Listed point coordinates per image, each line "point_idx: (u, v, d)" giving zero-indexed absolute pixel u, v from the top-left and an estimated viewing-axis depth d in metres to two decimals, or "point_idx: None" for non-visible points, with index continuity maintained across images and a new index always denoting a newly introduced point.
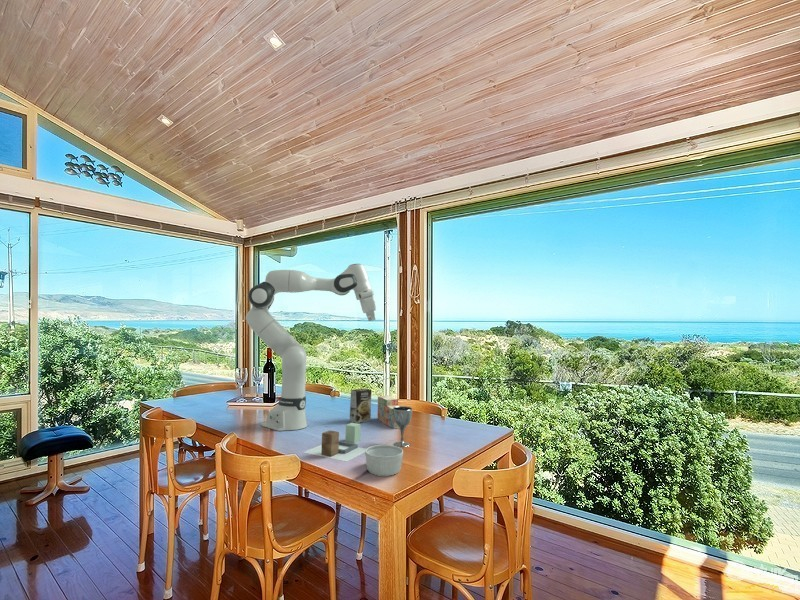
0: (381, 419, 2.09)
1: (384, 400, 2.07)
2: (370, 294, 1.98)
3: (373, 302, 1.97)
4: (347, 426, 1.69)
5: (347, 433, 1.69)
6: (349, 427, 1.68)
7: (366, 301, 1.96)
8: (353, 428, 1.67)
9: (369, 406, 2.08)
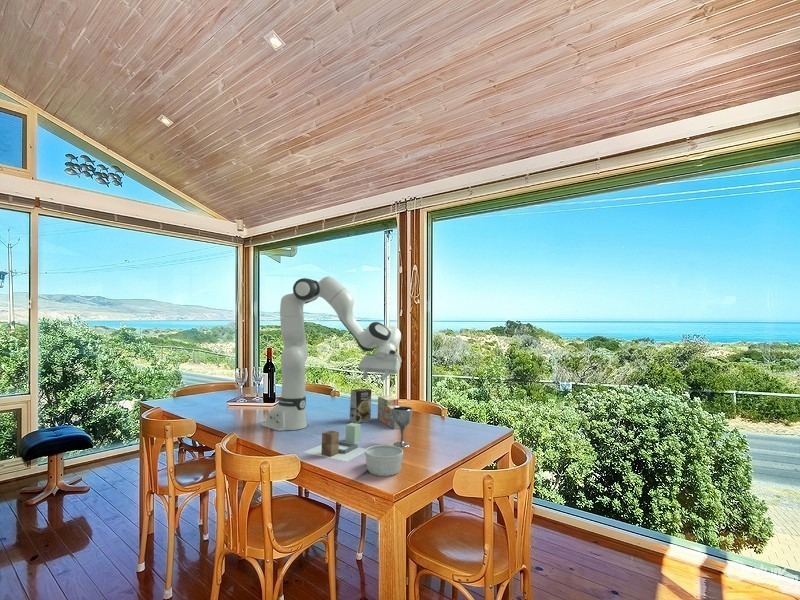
0: (381, 419, 2.09)
1: (384, 400, 2.06)
2: (400, 360, 1.90)
3: (399, 367, 1.87)
4: (347, 426, 1.69)
5: (347, 433, 1.69)
6: (349, 427, 1.68)
7: (398, 360, 1.86)
8: (353, 428, 1.67)
9: (369, 406, 2.08)
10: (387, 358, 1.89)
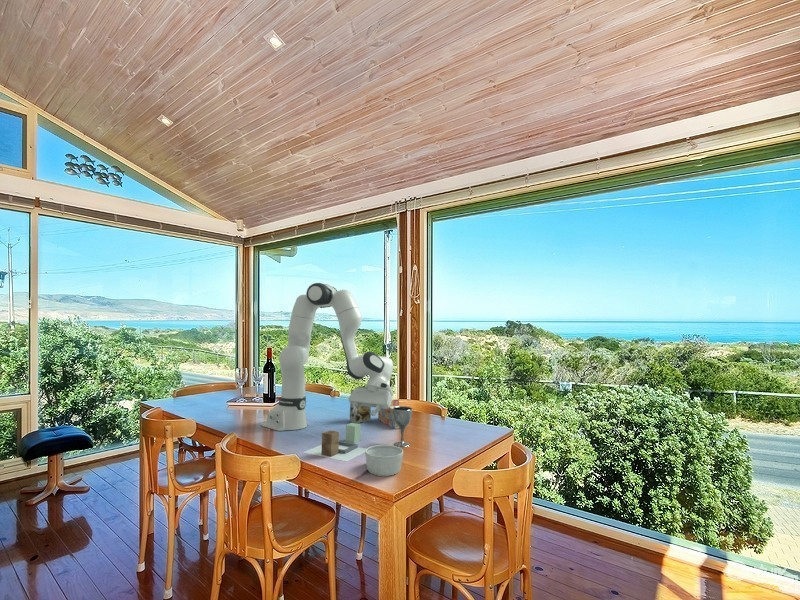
0: (382, 419, 2.08)
1: None
2: (392, 393, 1.83)
3: (391, 401, 1.79)
4: (347, 426, 1.69)
5: (347, 433, 1.69)
6: (349, 427, 1.68)
7: (389, 394, 1.79)
8: (353, 428, 1.67)
9: None
10: (378, 391, 1.81)
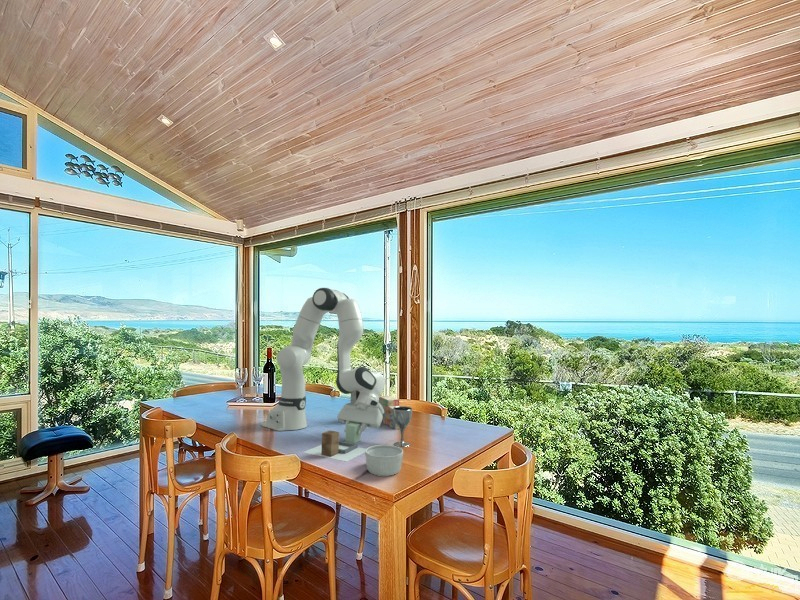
0: (382, 419, 2.08)
1: (385, 400, 2.06)
2: (382, 411, 1.75)
3: (381, 420, 1.72)
4: (347, 426, 1.69)
5: (347, 433, 1.69)
6: (349, 427, 1.68)
7: (379, 413, 1.71)
8: (353, 428, 1.67)
9: None
10: (368, 409, 1.73)
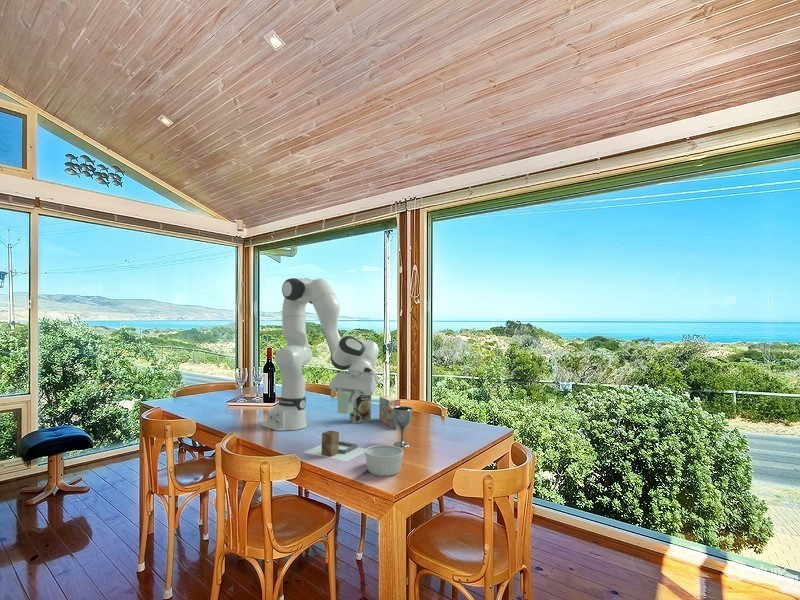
0: (383, 420, 2.08)
1: (386, 400, 2.05)
2: (376, 379, 1.67)
3: (375, 387, 1.64)
4: (339, 393, 1.61)
5: (339, 401, 1.60)
6: (341, 394, 1.60)
7: (373, 379, 1.63)
8: (346, 395, 1.59)
9: (369, 406, 2.08)
10: (361, 377, 1.65)
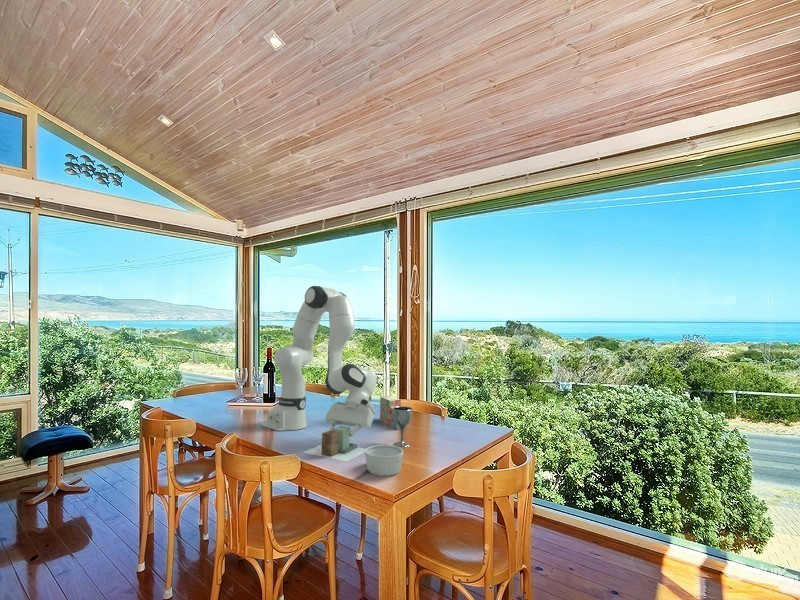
0: (384, 420, 2.07)
1: (387, 401, 2.05)
2: (373, 411, 1.64)
3: (372, 420, 1.61)
4: (335, 430, 1.58)
5: None
6: (337, 431, 1.58)
7: (370, 412, 1.60)
8: (341, 432, 1.57)
9: None
10: (358, 409, 1.63)
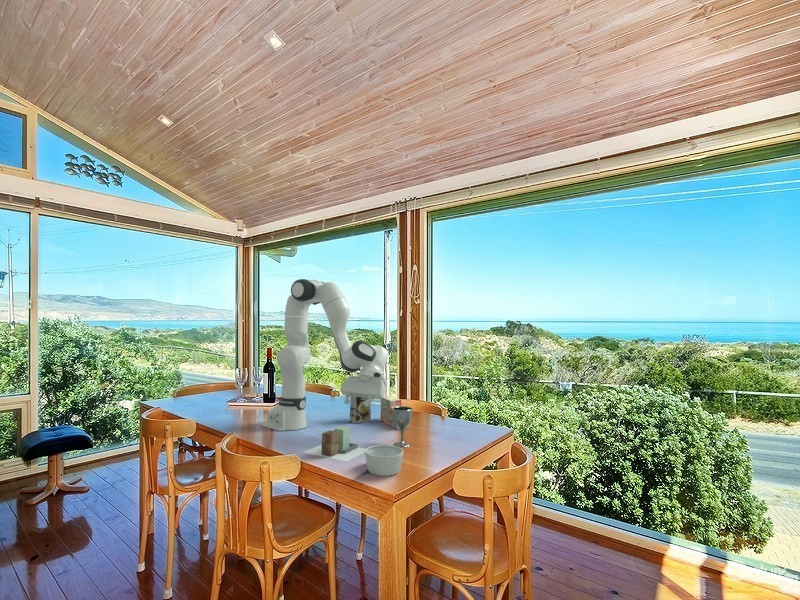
0: (384, 420, 2.07)
1: (387, 401, 2.05)
2: (385, 383, 1.74)
3: (384, 391, 1.70)
4: (335, 430, 1.58)
5: None
6: (337, 431, 1.58)
7: (383, 384, 1.70)
8: (341, 432, 1.57)
9: (369, 406, 2.08)
10: (371, 381, 1.72)
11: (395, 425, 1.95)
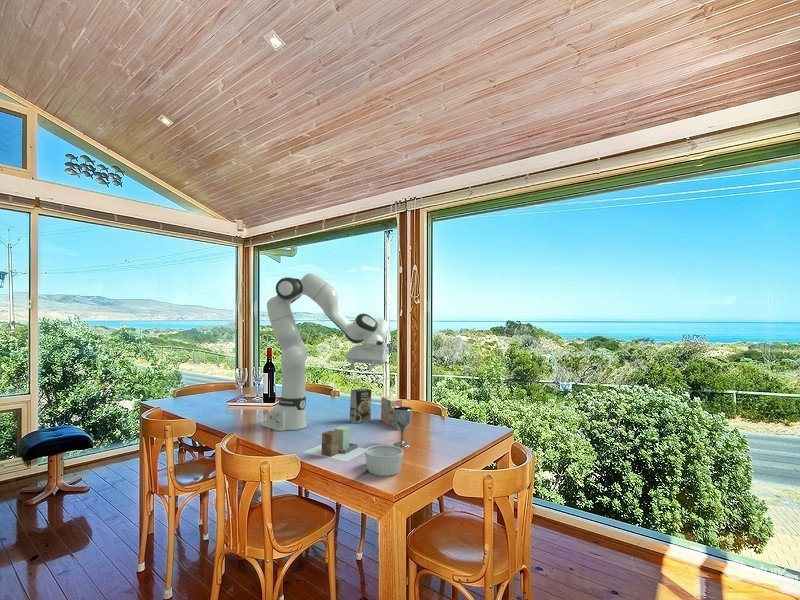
0: (385, 420, 2.07)
1: (388, 401, 2.04)
2: (387, 351, 1.91)
3: (386, 358, 1.88)
4: (335, 430, 1.58)
5: None
6: (337, 431, 1.58)
7: (384, 351, 1.87)
8: (341, 432, 1.57)
9: (369, 406, 2.08)
10: (374, 349, 1.90)
11: (396, 425, 1.95)
